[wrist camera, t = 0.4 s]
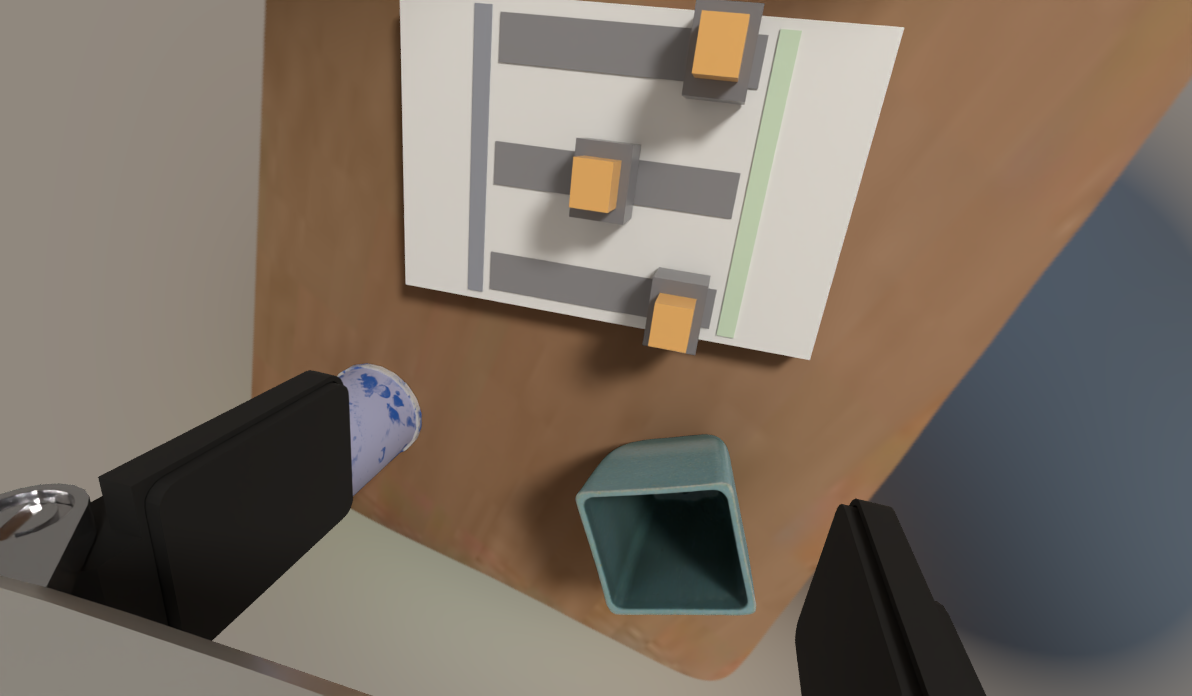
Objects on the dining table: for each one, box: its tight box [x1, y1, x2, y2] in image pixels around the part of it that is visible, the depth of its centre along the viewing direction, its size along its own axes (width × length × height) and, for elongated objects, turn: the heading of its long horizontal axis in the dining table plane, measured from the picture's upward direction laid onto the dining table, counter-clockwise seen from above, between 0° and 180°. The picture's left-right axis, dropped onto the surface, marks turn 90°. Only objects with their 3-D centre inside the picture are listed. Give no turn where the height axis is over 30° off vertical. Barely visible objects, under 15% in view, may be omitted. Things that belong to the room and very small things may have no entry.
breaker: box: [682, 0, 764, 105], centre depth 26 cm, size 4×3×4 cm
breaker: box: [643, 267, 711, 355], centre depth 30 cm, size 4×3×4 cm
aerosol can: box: [338, 364, 421, 496], centre depth 34 cm, size 8×8×20 cm
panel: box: [400, 0, 904, 360], centre depth 32 cm, size 17×26×2 cm, turn 83°
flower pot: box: [575, 434, 756, 615], centre depth 35 cm, size 9×9×9 cm
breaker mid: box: [569, 138, 641, 225], centre depth 29 cm, size 4×3×4 cm
